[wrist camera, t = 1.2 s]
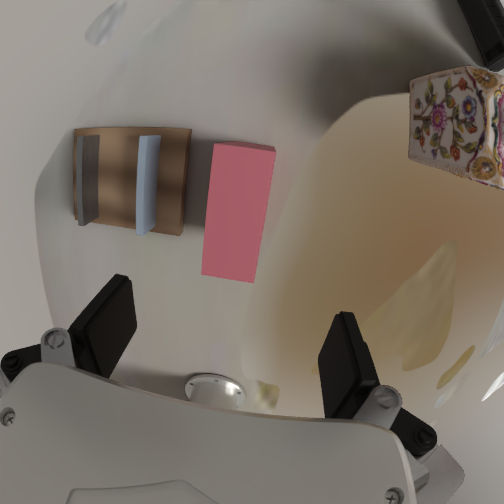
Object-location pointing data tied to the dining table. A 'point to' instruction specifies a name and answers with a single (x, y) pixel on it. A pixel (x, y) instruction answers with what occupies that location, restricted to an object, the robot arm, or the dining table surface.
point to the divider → (147, 183)
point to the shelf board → (125, 176)
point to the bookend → (87, 178)
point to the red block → (236, 209)
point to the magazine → (487, 29)
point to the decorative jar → (459, 123)
